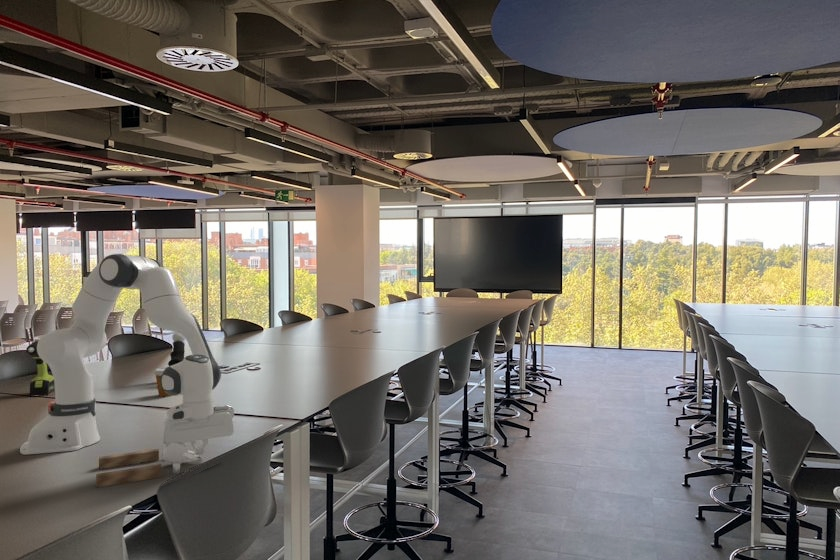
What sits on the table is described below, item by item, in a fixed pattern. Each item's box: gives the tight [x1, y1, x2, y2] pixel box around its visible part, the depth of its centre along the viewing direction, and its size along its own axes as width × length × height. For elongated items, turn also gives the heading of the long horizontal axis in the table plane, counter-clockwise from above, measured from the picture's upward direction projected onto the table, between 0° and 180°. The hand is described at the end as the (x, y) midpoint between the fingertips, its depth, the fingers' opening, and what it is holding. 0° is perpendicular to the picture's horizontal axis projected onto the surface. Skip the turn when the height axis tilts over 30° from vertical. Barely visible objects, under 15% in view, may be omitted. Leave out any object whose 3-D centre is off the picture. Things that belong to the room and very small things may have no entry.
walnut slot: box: [95, 448, 162, 488], centre depth 164 cm, size 16×17×3 cm
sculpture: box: [167, 332, 186, 367], centre depth 286 cm, size 15×24×25 cm, turn 16°
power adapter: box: [161, 442, 203, 465], centre depth 170 cm, size 11×5×6 cm, turn 117°
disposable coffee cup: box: [154, 366, 171, 397], centre depth 258 cm, size 10×10×12 cm
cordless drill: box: [25, 340, 55, 396], centre depth 257 cm, size 23×7×25 cm, turn 18°
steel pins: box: [172, 462, 181, 476], centre depth 169 cm, size 2×17×3 cm, turn 27°
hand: (199, 454), depth 173 cm, fingers closed
